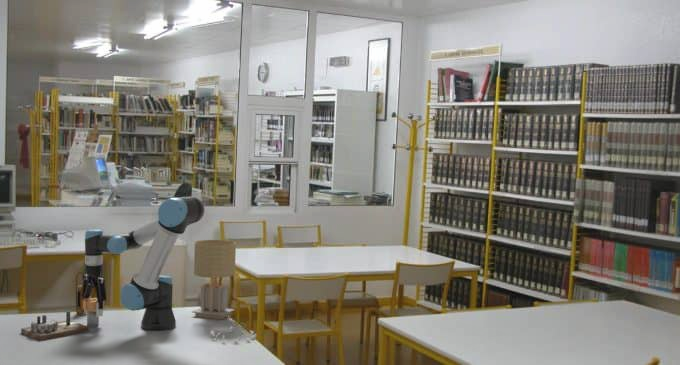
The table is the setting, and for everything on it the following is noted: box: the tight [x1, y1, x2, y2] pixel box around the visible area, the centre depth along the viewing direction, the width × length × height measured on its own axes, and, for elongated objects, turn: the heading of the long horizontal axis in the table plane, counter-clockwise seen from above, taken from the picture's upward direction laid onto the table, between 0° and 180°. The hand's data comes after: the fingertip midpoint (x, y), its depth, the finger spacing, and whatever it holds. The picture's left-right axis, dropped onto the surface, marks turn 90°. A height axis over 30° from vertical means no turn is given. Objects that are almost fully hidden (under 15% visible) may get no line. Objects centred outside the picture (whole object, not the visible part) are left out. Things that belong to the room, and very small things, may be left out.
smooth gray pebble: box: [86, 311, 100, 327], centre depth 336 cm, size 5×5×6 cm
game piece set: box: [209, 325, 258, 344], centre depth 322 cm, size 19×20×4 cm
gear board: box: [20, 310, 90, 341], centre depth 322 cm, size 16×22×8 cm
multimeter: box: [75, 269, 91, 317], centre depth 358 cm, size 15×10×20 cm
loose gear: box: [83, 297, 105, 311], centre depth 335 cm, size 9×9×4 cm
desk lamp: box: [191, 239, 237, 320], centre depth 361 cm, size 20×20×35 cm
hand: (93, 314), depth 335 cm, fingers closed on loose gear, 9 cm apart
